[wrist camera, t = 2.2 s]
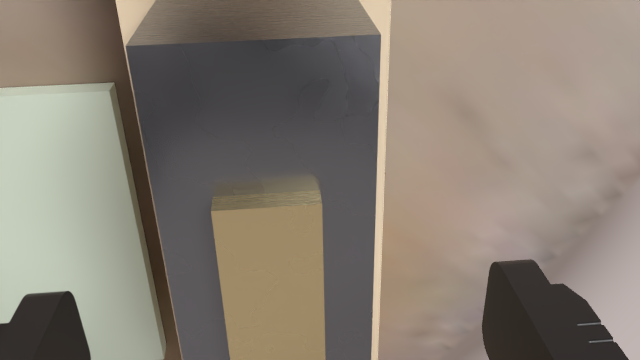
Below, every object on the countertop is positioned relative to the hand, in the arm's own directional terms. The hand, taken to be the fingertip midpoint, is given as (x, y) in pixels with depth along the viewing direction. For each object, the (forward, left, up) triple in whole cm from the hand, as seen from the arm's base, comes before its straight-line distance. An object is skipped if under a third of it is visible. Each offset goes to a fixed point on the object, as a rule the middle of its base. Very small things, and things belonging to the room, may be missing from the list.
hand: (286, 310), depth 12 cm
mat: (-11, -5, -11) cm, 16 cm away
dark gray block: (0, 0, -7) cm, 7 cm away
